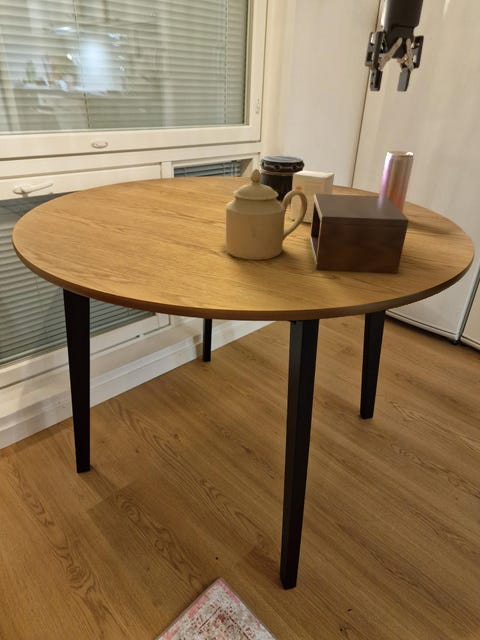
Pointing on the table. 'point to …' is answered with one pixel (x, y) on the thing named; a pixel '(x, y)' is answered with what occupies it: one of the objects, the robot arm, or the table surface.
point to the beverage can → (396, 177)
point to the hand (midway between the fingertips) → (388, 91)
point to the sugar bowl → (258, 220)
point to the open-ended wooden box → (357, 233)
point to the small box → (309, 190)
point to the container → (280, 173)
